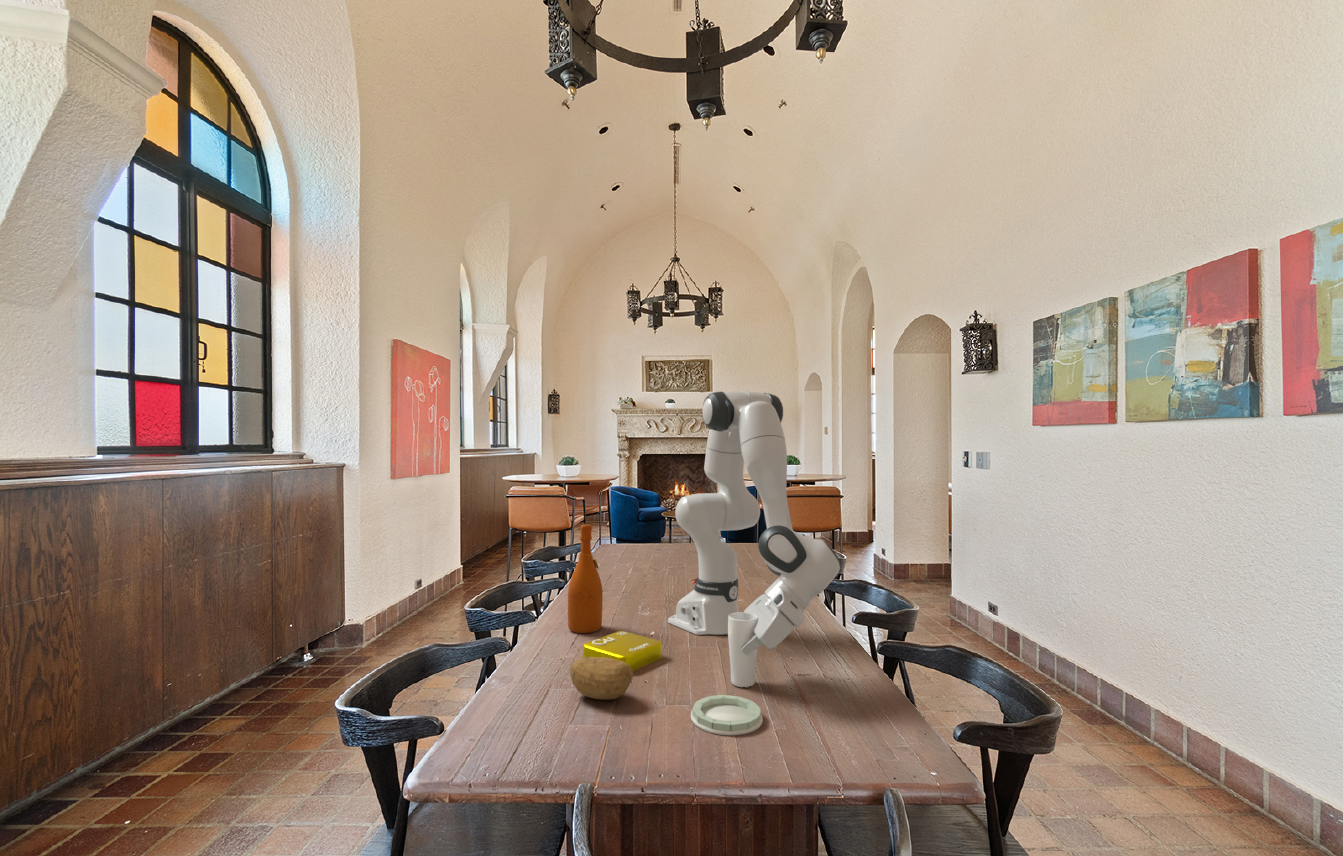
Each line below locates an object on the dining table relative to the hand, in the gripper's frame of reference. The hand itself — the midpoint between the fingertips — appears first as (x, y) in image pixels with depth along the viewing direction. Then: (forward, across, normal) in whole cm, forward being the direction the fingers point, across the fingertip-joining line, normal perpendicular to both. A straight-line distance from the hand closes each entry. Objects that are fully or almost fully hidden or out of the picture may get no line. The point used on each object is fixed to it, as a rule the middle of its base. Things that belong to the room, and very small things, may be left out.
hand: (740, 645), depth 136 cm
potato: (+28, +6, -16) cm, 32 cm away
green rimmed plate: (+10, +17, +2) cm, 20 cm away
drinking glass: (+6, 0, +6) cm, 9 cm away
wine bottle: (+33, -41, -20) cm, 56 cm away
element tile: (+25, -17, -12) cm, 33 cm away
